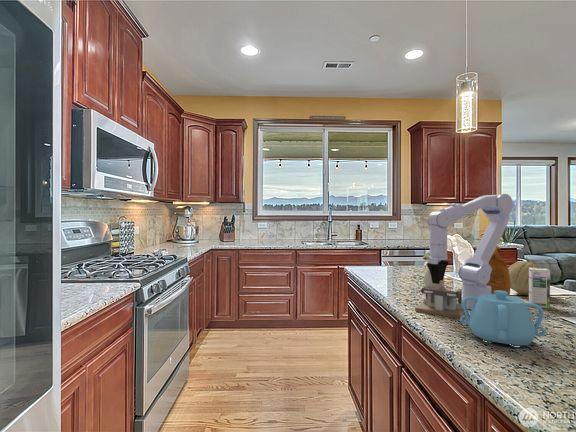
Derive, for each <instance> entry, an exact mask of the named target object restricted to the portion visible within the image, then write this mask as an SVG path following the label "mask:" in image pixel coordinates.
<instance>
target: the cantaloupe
mask: <svg viewBox="0 0 576 432" xmlns="http://www.w3.org/2000/svg"><path fill="white" fill-rule="evenodd" d="M529 267H531V268H542V267H541V266H539V265H538V264H536V263H534V260H531V261H526V260H525V261H523V260H520V261H517V262H515V263H512V264H511V265H510V266H508V269H509V275H510V283H511V288H510V290H512V291H514V292H516V293H517V294H519V295H522V296H529Z"/></svg>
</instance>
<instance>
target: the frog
mask: <svg viewBox="0 0 576 432" xmlns="http://www.w3.org/2000/svg"><path fill="white" fill-rule="evenodd" d="M427 255H429V256H430V251H427V252H426V253H425V254H424V255H423V256H422V259H423V260H424V261H426V262H427V263H431V259H430V258H426V256H427ZM426 285H429V288H432V289H440V290H448V291H452V289H451V288H447V287H445V280H444V279H443V280H440V283H439V284H435V283H432V279H431V274H430V270H429V268H428V266H427V267H426V270H425V271H424V286H426ZM424 286H420V290H419V291H421V292H422V288H423V287H424Z"/></svg>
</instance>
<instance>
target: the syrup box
mask: <svg viewBox="0 0 576 432" xmlns="http://www.w3.org/2000/svg"><path fill="white" fill-rule="evenodd" d="M528 303H534V304H537V305H539V306H540V307H541V308H542V309H551V270H550V269H549V268H544V267H543V268H542V267H541V268H531V267H529V295H528Z"/></svg>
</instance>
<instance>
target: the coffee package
mask: <svg viewBox="0 0 576 432" xmlns="http://www.w3.org/2000/svg"><path fill="white" fill-rule="evenodd" d="M501 252H502V249H501V248H500V247H499V246H498V245H497V246H496V248H495V250H494V252H493V254H492V257H491V259H490V261H489V265H490V266H491V268H492V271H491V274H490V280H489V282H488V283H487V284H486V286H491V290H492V294H495V293H494V291H496V290H501V291H506V292H508V295H507V296H511V283H510V275H509V269H508V268H509V266H508V264H507V263H506V262H505V260H504V259H503V257H502V256H501V255H500V253H501Z"/></svg>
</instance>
